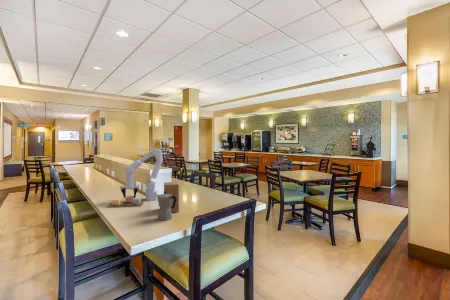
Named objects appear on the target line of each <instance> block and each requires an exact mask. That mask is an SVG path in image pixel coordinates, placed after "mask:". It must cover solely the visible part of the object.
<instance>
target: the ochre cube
mask: <svg viewBox="0 0 450 300" xmlns="http://www.w3.org/2000/svg"><path fill="white" fill-rule="evenodd" d="M121 202H122V198H120V197H118V198H116V197H115V198H113V199H111V203H112V205H115V204H120V203H121Z"/></svg>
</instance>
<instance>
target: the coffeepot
mask: <svg viewBox="0 0 450 300" xmlns="http://www.w3.org/2000/svg"><path fill="white" fill-rule="evenodd" d="M156 196H157V197H158V199H157V202H158V207H159V210H158V216H157V220H158V221H162V222H165V221H169V220H172V219H173V213H171V208H174V207H175V204H176V200H177V198H176V197H175V196H172V195H171V194H166V191H164V190H163V193H162V194H158V195H156ZM172 199H174V203H173V207H171V208H170V205H171V200H172Z"/></svg>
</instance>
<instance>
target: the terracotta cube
mask: <svg viewBox="0 0 450 300" xmlns="http://www.w3.org/2000/svg"><path fill="white" fill-rule="evenodd" d="M133 198H134V195H130V196H129V195H126V198H125V202H128V201H132V199H133Z"/></svg>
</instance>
